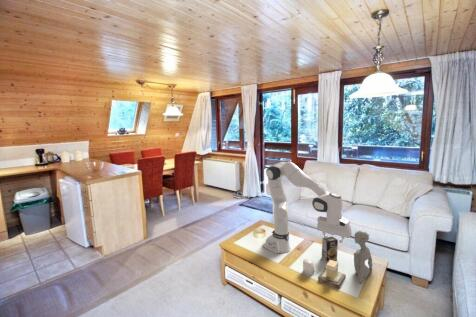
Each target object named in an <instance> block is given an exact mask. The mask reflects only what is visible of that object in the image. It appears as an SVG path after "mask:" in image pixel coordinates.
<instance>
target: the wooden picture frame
mask: <svg viewBox="0 0 476 317" xmlns="http://www.w3.org/2000/svg"><path fill="white" fill-rule="evenodd" d="M345 279H346V274H345V273H342V272H339V271H338V274H337V276H336V277H335V279H332V278H330V277H327V276H326V266H325V268H324V269H323V270H322V271H321V273H320V274H319V276H318V277H317V280H318V282H320V283H323V284H326V285H328V286H331V287H334V288H335V289H340V288H341V287H342V285H343V283H344V281H345Z"/></svg>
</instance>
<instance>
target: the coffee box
mask: <svg viewBox="0 0 476 317" xmlns="http://www.w3.org/2000/svg"><path fill="white" fill-rule="evenodd" d="M321 240H322V241H321V259H323V261H324V262H326V263H328V262H329V261H330V260H333V261H336V262H337V261H338V248H339V246H338V245H339V240H338V239H337V238H336V237H334V236H333V235H332V236H327V239H326V238H324V237H323V238H321Z"/></svg>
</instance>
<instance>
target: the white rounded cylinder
mask: <svg viewBox="0 0 476 317" xmlns="http://www.w3.org/2000/svg"><path fill="white" fill-rule="evenodd" d="M302 262H303V263H302V273H303V274H304V275H306V276H310V277H311V276H313V275H314V273H315V261H314V260H313V259H312V258H304V259H303V260H302Z"/></svg>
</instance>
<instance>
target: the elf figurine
mask: <svg viewBox="0 0 476 317" xmlns="http://www.w3.org/2000/svg"><path fill="white" fill-rule="evenodd" d="M353 237H354V243H356V244H358V245H359V247H360V249H357V250H356V251H355V252H354V253H353V267H354V272H355V274H356V276H357V277H358V278H357V283H358V285H361V284H362V282H363V280H365V279H367V278H368V276H369V275H370V274H371V273H370V272H371V271H370V270H372V269H373V259H372V254H371V250H370V248H369V247H368V246H367V245H366V242H368V241H369V240H370V233H368V232H366V231H365V230H358V231H356V232H355V233H354V236H353ZM366 261H367V265H368V266H367V265H366Z"/></svg>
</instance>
